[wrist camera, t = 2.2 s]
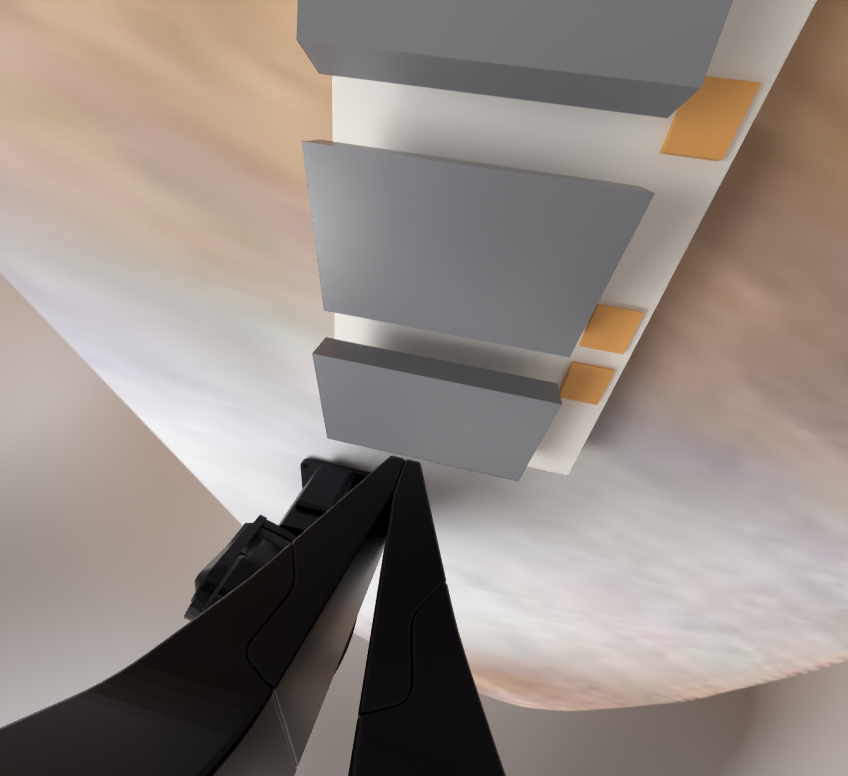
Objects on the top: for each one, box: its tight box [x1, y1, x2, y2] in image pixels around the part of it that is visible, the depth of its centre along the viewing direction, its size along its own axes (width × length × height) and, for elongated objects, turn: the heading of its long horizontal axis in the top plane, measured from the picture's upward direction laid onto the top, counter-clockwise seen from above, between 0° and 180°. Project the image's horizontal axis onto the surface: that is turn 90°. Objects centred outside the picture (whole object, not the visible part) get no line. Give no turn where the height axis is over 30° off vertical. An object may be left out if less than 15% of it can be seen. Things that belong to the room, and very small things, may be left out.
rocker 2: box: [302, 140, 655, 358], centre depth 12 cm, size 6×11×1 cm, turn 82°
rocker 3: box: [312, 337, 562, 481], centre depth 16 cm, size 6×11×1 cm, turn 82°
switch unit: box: [332, 0, 817, 475], centre depth 14 cm, size 23×15×4 cm, turn 172°
